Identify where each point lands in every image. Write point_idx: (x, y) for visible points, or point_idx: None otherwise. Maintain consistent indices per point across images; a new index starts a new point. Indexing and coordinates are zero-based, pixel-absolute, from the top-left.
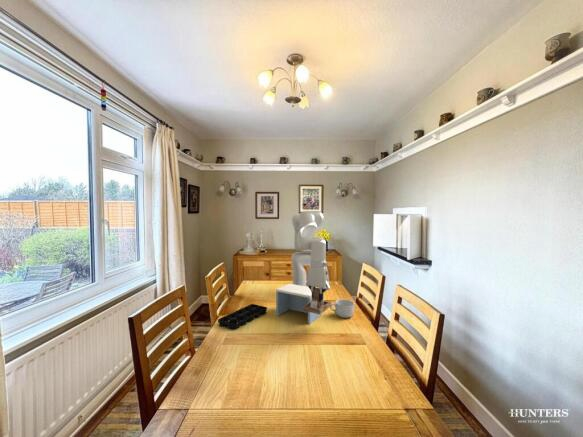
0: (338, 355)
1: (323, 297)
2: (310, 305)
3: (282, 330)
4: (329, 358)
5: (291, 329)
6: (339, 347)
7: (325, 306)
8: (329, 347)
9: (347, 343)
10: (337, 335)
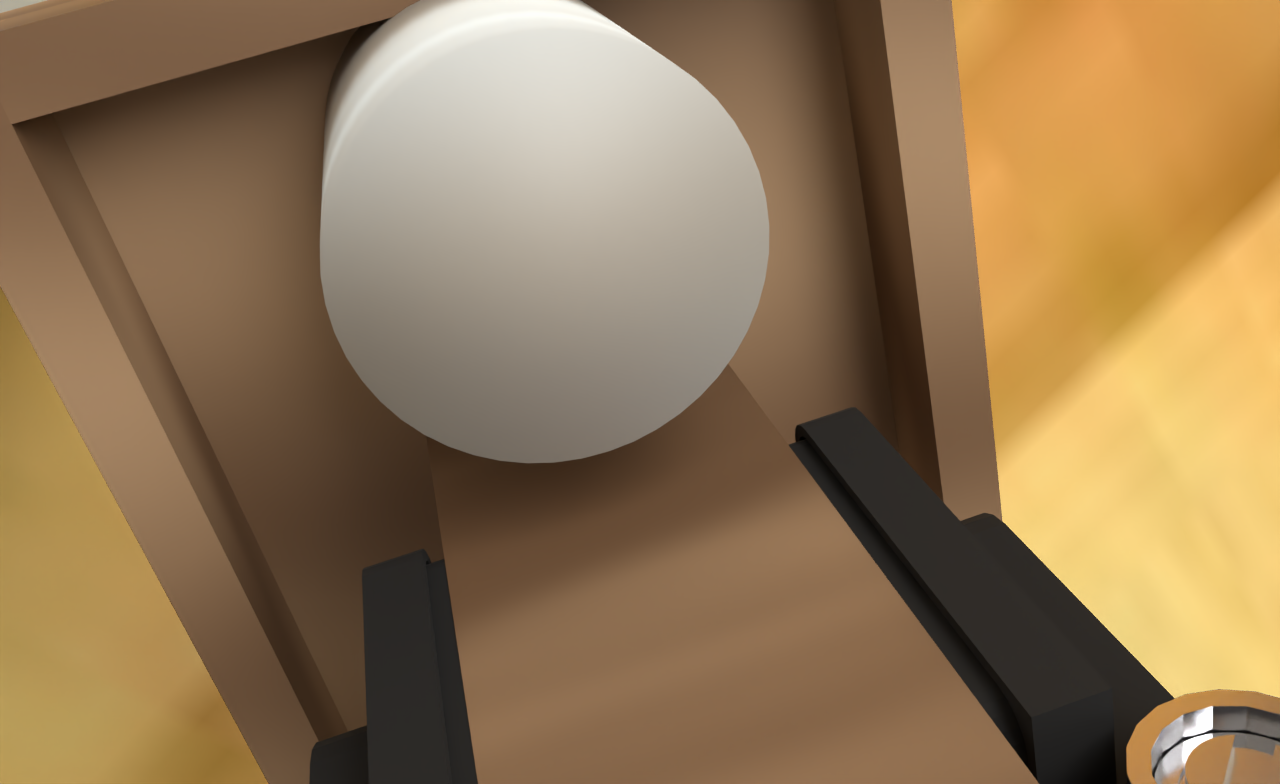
0: (1266, 550)
1: (757, 200)
2: (316, 596)
3: (15, 747)
4: (1197, 683)
5: (85, 592)
6: (1194, 377)
7: (982, 371)
8: (1067, 497)
9: (1255, 163)
10: (970, 37)
